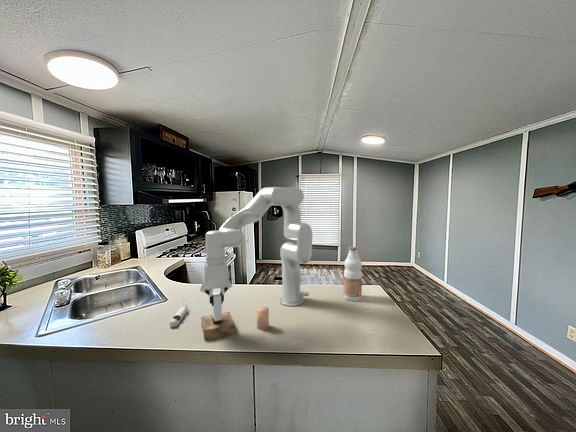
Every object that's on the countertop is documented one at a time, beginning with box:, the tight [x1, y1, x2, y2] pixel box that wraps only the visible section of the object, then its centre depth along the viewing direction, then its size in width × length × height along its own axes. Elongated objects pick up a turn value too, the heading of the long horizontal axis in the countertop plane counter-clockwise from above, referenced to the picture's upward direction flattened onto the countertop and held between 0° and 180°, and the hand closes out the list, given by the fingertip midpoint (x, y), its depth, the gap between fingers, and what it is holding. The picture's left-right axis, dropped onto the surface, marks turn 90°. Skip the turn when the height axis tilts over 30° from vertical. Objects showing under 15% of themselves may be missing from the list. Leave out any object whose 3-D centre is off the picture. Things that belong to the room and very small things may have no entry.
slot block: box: [201, 311, 236, 341], centre depth 107 cm, size 12×12×4 cm
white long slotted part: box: [169, 300, 190, 328], centre depth 118 cm, size 18×5×7 cm, turn 4°
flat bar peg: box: [212, 291, 223, 321], centre depth 107 cm, size 3×5×10 cm, turn 24°
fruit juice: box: [343, 246, 363, 302], centre depth 138 cm, size 9×9×28 cm
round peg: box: [256, 306, 270, 331], centre depth 109 cm, size 5×5×8 cm
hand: (216, 303), depth 106 cm, fingers closed on flat bar peg, 2 cm apart
